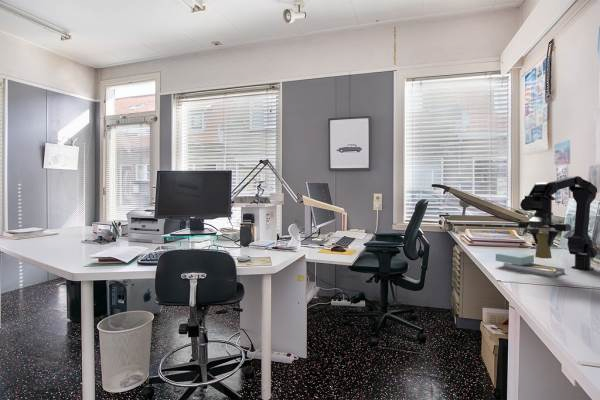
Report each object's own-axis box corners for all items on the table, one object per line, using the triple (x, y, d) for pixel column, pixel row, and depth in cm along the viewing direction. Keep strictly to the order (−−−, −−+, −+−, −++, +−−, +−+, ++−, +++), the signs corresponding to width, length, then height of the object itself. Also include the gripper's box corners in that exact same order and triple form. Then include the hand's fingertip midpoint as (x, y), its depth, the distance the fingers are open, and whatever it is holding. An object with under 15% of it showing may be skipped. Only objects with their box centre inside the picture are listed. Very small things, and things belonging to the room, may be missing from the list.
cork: (554, 258, 145) (554, 233, 145) (539, 258, 146) (539, 233, 146) (547, 256, 151) (547, 232, 151) (532, 255, 152) (532, 231, 152)
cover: (508, 258, 167) (508, 251, 167) (533, 262, 157) (533, 255, 157) (495, 260, 161) (495, 253, 161) (521, 265, 151) (521, 257, 151)
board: (516, 264, 164) (516, 260, 164) (564, 273, 147) (564, 268, 147) (503, 268, 158) (503, 263, 158) (551, 277, 141) (551, 271, 141)
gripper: (511, 210, 152) (511, 243, 153) (559, 212, 136) (559, 250, 136) (524, 209, 158) (524, 241, 158) (571, 211, 141) (571, 247, 142)
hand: (543, 245), depth 148 cm, fingers closed on cork, 5 cm apart
